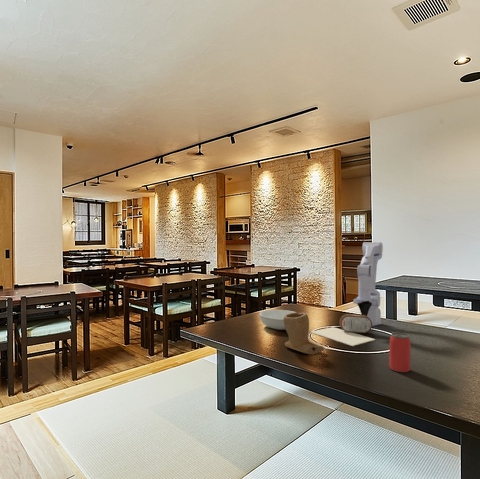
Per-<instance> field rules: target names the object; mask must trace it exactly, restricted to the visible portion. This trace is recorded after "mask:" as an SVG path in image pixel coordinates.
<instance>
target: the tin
mask: <svg viewBox="0 0 480 479" xmlns="http://www.w3.org/2000/svg"><path fill="white" fill-rule="evenodd" d="M338 323H339V326H340V328H341V330H344V331H346V332H352V333H355V334H368V333H369V332H370V331H371V330H372V329H373V326H372V321H371V320H370V318H369V317H367V316H365V315H361V314H352V313H345V314H343V315H342V316H340V318H339V322H338Z"/></svg>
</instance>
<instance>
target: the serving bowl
mask: <svg viewBox="0 0 480 479" xmlns="http://www.w3.org/2000/svg"><path fill="white" fill-rule="evenodd" d="M294 312H295V311H292V310H287V309H286V310H285V309H267V310H261V311H260V312H259V319H260V321H261V323H262V324H263V325H264V326H265V327H267V328H271V329H273V330H279V331H283V330H285V331H286V328H285V325H284V316H285V315H286V314H290V313H294Z"/></svg>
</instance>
